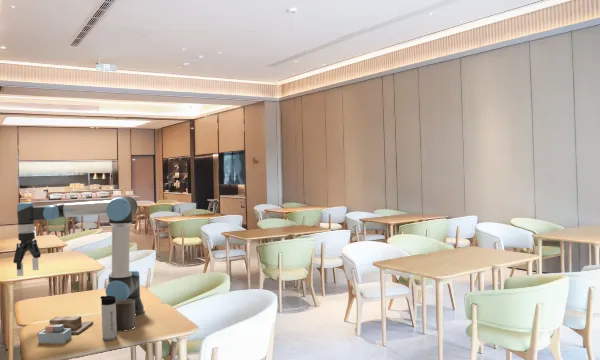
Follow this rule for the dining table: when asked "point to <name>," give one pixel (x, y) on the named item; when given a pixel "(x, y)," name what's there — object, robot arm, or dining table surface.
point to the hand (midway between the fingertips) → (28, 272)
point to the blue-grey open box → (54, 336)
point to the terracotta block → (49, 329)
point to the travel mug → (109, 317)
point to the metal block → (58, 328)
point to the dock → (77, 331)
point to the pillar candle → (125, 314)
